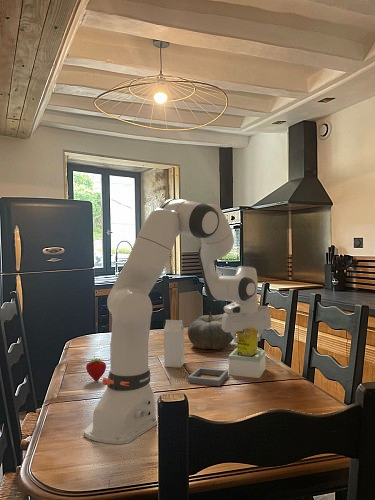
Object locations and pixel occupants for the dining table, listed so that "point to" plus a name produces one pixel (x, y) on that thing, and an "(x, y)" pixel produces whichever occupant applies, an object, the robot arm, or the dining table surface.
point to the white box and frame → (233, 369)
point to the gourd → (209, 332)
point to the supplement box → (247, 342)
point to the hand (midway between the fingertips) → (246, 341)
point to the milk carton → (174, 343)
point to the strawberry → (96, 368)
